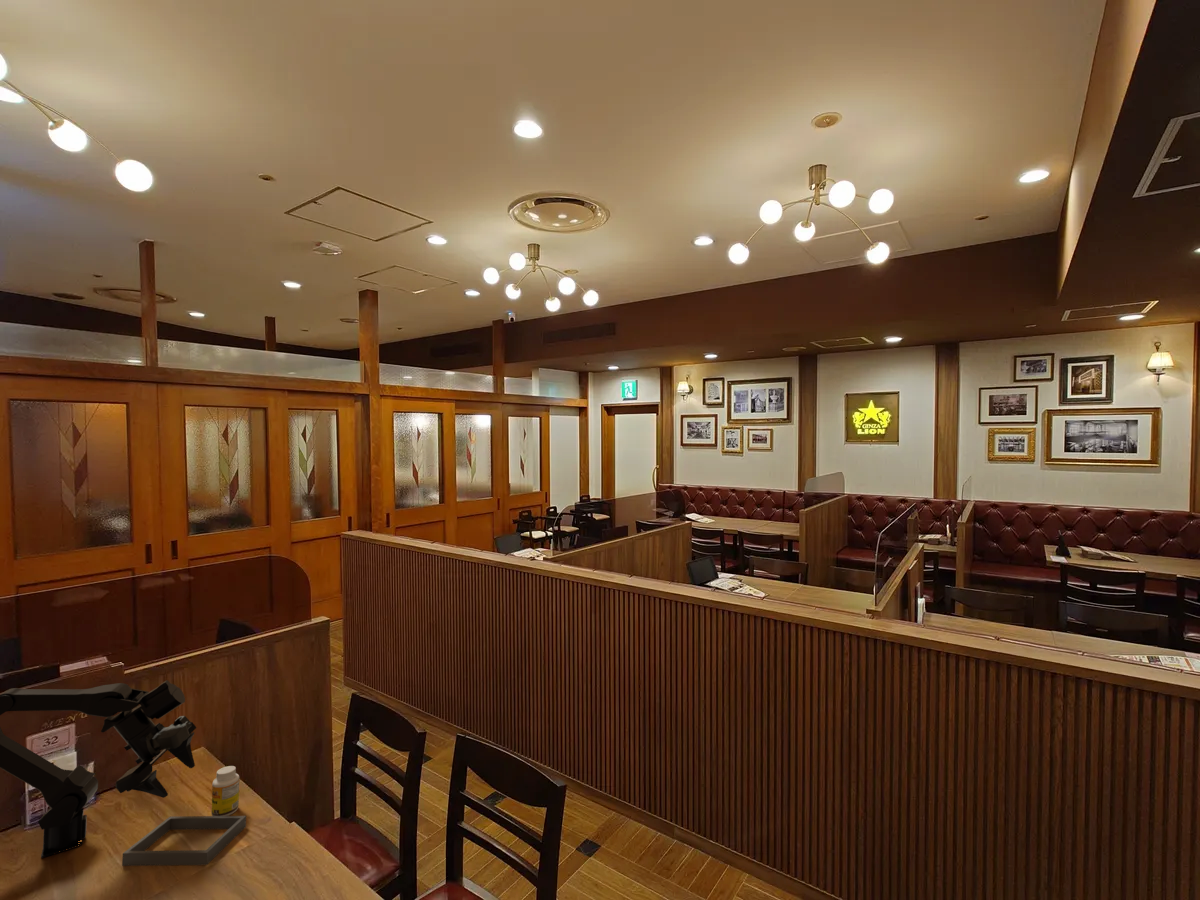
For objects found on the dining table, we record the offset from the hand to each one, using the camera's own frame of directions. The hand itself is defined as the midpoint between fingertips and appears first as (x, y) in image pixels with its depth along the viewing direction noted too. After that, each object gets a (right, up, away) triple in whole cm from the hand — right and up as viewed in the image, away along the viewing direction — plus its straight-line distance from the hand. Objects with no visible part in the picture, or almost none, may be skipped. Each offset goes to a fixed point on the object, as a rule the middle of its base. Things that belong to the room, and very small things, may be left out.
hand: (179, 781), depth 134 cm
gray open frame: (+9, -9, -10) cm, 16 cm away
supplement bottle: (+9, -9, +3) cm, 13 cm away
